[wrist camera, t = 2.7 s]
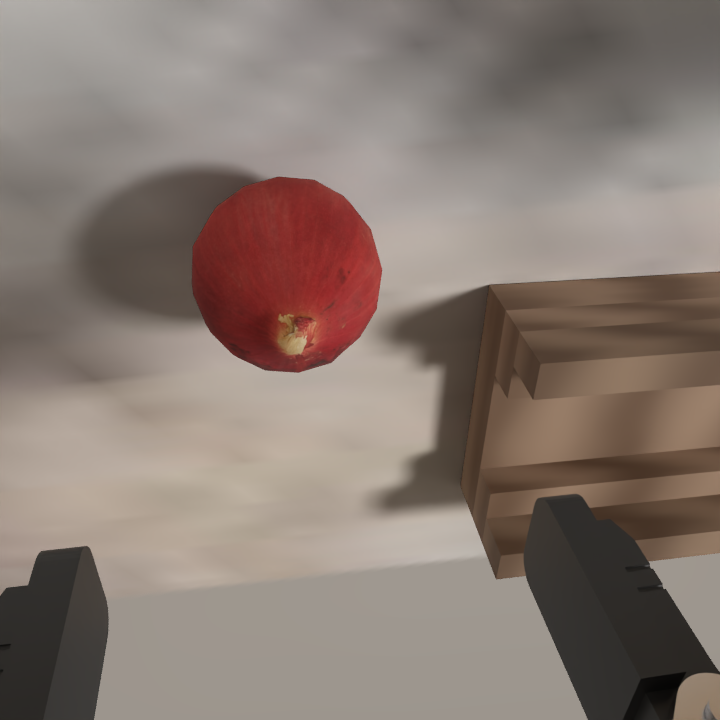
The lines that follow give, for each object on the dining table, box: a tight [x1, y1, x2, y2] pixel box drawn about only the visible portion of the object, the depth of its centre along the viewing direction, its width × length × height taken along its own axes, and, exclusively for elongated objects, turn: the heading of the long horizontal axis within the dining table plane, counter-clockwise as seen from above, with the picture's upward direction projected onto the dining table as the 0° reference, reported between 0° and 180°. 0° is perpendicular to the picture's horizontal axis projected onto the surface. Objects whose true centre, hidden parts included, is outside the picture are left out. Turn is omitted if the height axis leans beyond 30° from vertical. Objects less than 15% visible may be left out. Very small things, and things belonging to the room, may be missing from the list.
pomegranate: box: [192, 177, 382, 373], centre depth 21 cm, size 6×6×8 cm
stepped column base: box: [461, 272, 720, 579], centre depth 28 cm, size 12×11×6 cm
